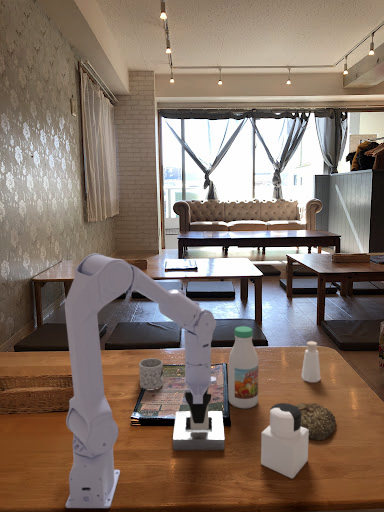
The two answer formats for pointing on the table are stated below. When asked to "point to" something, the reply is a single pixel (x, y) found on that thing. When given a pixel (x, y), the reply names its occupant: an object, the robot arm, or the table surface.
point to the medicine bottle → (284, 441)
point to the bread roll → (317, 420)
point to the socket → (198, 433)
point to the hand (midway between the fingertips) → (198, 416)
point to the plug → (200, 425)
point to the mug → (151, 373)
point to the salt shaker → (311, 363)
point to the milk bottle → (243, 370)
